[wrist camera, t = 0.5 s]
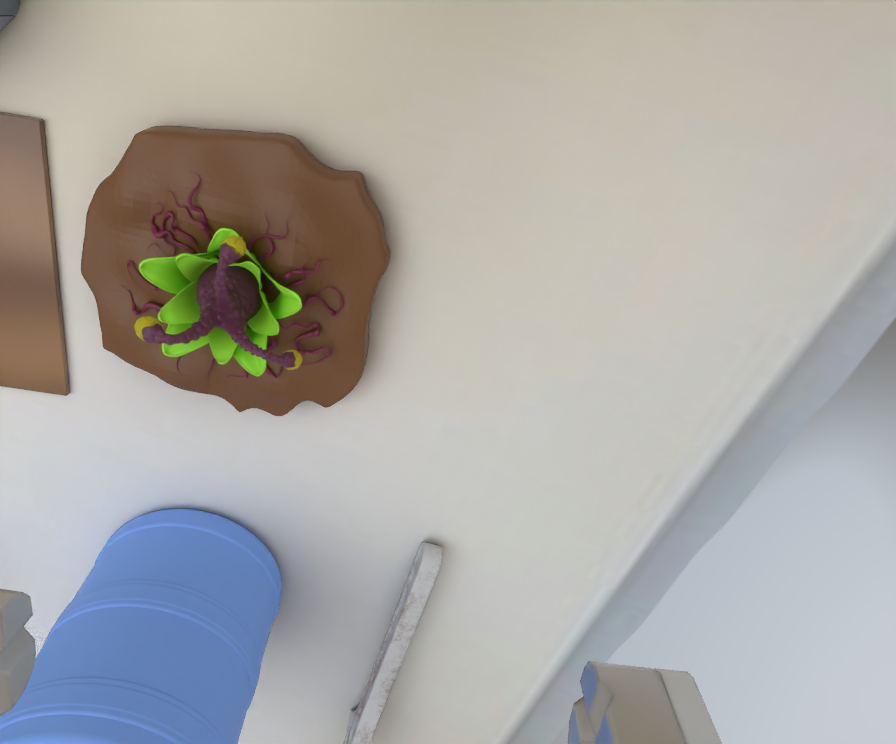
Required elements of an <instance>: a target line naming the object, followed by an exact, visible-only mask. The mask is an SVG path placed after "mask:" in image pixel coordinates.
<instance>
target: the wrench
mask: <svg viewBox="0 0 896 744" xmlns="http://www.w3.org/2000/svg"><path fill="white" fill-rule="evenodd" d="M441 560H442V547H441V546H438V545H434V544H430V543H426V542H423V543H422V544H421V546H420V548H419V550H418V553H417V556H416V558H415V561H414V564H413V566H412V569H411V571H410V574H409V577H408V579H407V582H406V585H405V587H404V590H403V592H402V595H401V598H400V600H399V603H398V606H397V608H396V611H395V613H394V616H393V619H392V621H391V624H390V626H389V629H388V632H387V634H386V637H385V639H384V642H383V645H382V647H381V650H380V653H379V655H378V658H377V660H376V663H375V666H374V668H373V671H372V674H371V676H370V679H369V681H368V684H367V687H366V689H365V692H364V694H363V697H362V699H361V702H360V704H359V705H358V707H357V709H356V710H351V713H350V718H349V724H348V729H347V734H346V737H345V740H344V744H370V743H371V740H372V737H373V734H374V731H375V728H376V725H377V723H378V720H379V718H380V715H381V713H382V710H383V708H384V705H385V703H386V700H387V698H388V696H389V693H390V691H391V688H392V686H393V683H394V681H395V678H396V676H397V673H398V671H399V668H400V666H401V663H402V661H403V659H404V656H405V654H406V651H407V649H408V646H409V644H410V641H411V639H412V636H413V634H414V631H415V629H416V626H417V624H418V622H419V619H420V617H421V614H422V612H423V609H424V607H425V604H426V602H427V599H428V597H429V594H430V592H431V590H432V587H433V585H434V582H435V580H436V577H437V575H438V572H439V569H440V565H441Z"/></svg>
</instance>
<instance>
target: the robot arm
mask: <svg viewBox="0 0 896 744" xmlns="http://www.w3.org/2000/svg"><path fill="white" fill-rule="evenodd" d="M32 615H33V614H32V607H31V600H30V596H28V595H27V594H25V593H23V592H18V591H11V590H4V589H0V716H1V715H3V714H5V713H6V712H8V711H10V710H12V708H13V707H14V706H15V704H16V703H17V701H18V700H19V698H20V697H21V695H22V694H23V693H24V691H25V689H26V686H27V684H28V681H29V679H30V677H31V674H32V672H33V668H34V662H35V656H36V649H35V639H34V638H33V637H32V636H31V635H30V633H29V632H28V631H27V630H26V629H25V628H24V627H23V626H24V625H25V624H26V622H27V621H28V620H29V619H30V618H31V616H32ZM580 683H581V687H582V692H583V697H582V698H581V699H579V700H578V701H577V702H575V703H574V704H573V708H572V712H571V716H570V720H569V732H568V744H722V743H721V741H720V738H719V736H718V733H717V731H716V729H715V726H714V724H713V722H712V719H711V717H710V715H709V713H708V710H707V708H706V706H705V703H704V701H703V699H702V696H701V694H700V692H699V689H698V687H697V685H696V682H695V680H694V678H693V677H692V676H691V675H690V674H689V673H688V672H684V671H675V670H666V669H651V668H644V667H635V666H626V665H617V664H608V663H600V662H591V661H589V662H588V663H587V665H586V666H585V667H584V670H583V673H582V677H581V680H580Z"/></svg>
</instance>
